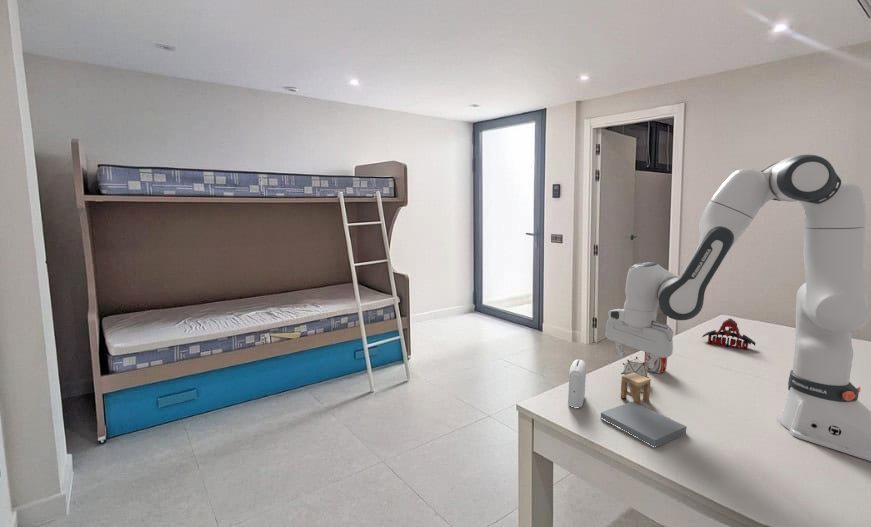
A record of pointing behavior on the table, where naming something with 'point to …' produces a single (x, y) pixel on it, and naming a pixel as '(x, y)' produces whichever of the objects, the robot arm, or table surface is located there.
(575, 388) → the photo printer
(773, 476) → the table surface
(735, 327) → the extruded letter emblem
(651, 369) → the soda can
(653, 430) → the slate board
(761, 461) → the table surface
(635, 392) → the wooden stool
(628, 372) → the game die
